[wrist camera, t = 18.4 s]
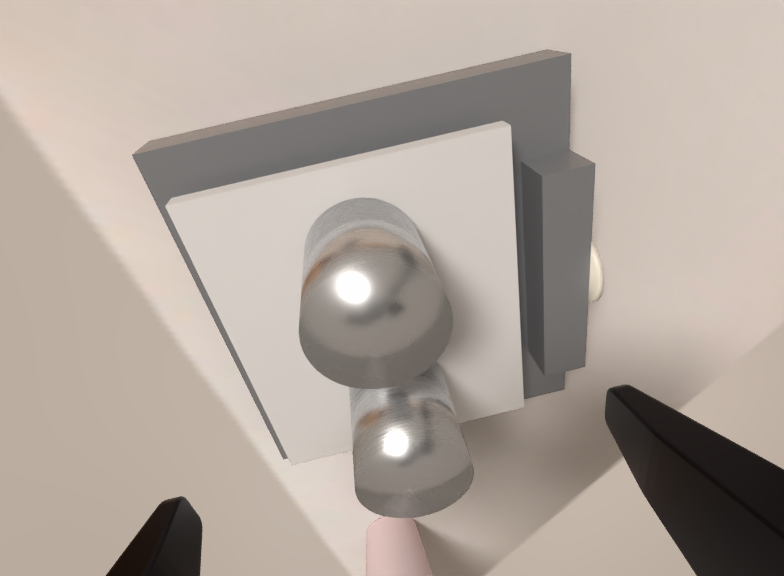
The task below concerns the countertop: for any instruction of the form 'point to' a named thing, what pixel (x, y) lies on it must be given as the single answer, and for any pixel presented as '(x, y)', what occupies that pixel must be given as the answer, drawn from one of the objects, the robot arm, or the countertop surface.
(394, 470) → the cylinder
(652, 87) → the countertop surface
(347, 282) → the cylinder
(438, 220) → the scale
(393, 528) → the smoothie
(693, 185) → the countertop surface
